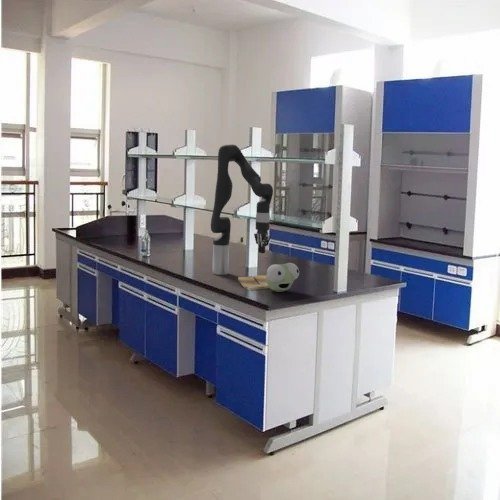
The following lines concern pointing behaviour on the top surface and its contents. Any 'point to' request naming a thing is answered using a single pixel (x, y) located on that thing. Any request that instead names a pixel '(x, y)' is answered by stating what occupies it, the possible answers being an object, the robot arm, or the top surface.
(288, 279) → the toy
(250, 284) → the plank near
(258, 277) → the plank far
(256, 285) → the laid strip
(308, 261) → the top surface
